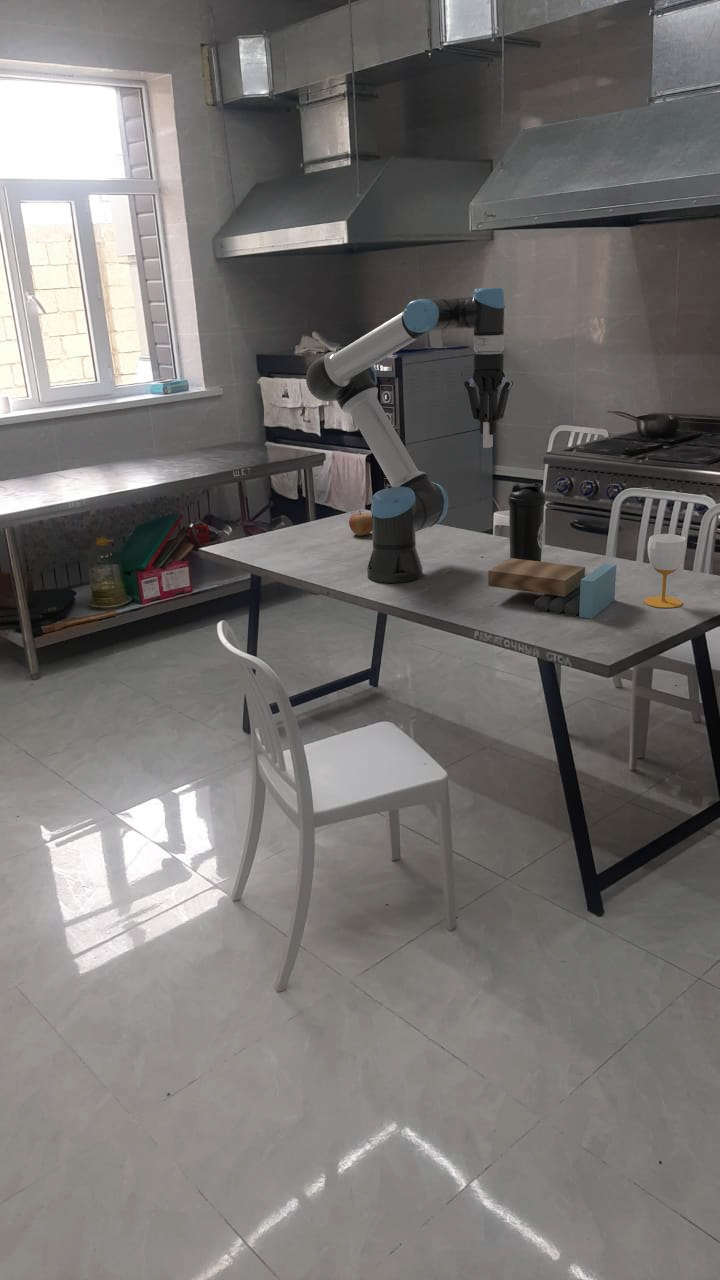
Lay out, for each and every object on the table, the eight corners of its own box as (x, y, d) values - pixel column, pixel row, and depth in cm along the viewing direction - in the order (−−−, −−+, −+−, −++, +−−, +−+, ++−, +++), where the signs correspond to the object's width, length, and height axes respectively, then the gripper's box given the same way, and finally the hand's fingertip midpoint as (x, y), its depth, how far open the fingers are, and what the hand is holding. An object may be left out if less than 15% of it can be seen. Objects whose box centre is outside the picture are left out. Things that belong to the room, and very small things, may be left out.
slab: (488, 586, 239) (488, 570, 238) (510, 573, 249) (510, 558, 248) (564, 596, 229) (565, 580, 227) (584, 582, 239) (585, 567, 237)
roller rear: (542, 595, 230) (532, 603, 232) (551, 607, 230) (540, 614, 232) (567, 578, 242) (557, 586, 245) (575, 589, 242) (565, 597, 244)
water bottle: (543, 571, 263) (545, 487, 255) (505, 570, 265) (507, 487, 258) (544, 561, 273) (546, 480, 265) (507, 561, 275) (509, 480, 267)
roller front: (576, 618, 227) (578, 604, 226) (562, 614, 229) (564, 600, 227) (600, 599, 239) (602, 586, 238) (587, 596, 241) (589, 583, 240)
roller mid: (547, 611, 231) (560, 616, 229) (550, 598, 229) (564, 602, 227) (571, 593, 243) (584, 598, 242) (575, 580, 242) (588, 585, 240)
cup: (676, 610, 228) (681, 544, 223) (638, 605, 233) (642, 540, 227) (686, 600, 235) (692, 535, 230) (649, 595, 240) (653, 532, 234)
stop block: (579, 616, 226) (580, 579, 223) (602, 598, 239) (604, 563, 236) (591, 618, 225) (593, 581, 222) (614, 599, 237) (616, 564, 234)
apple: (347, 538, 308) (346, 513, 305) (351, 532, 315) (350, 507, 312) (372, 538, 306) (371, 513, 304) (376, 532, 314) (375, 507, 311)
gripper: (458, 353, 244) (458, 448, 252) (506, 353, 237) (504, 450, 245) (472, 351, 249) (471, 443, 257) (518, 351, 243) (517, 446, 251)
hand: (487, 447), depth 251 cm, fingers closed
